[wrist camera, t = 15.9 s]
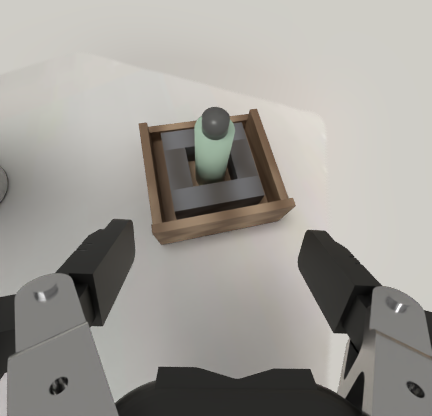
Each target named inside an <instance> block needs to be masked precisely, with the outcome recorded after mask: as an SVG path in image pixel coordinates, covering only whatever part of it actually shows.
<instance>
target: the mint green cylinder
mask: <svg viewBox="0 0 432 416" xmlns="http://www.w3.org/2000/svg"><path fill="white" fill-rule="evenodd" d="M194 131H195V177H196V181H197V183H198V184H199V185H206V184H212V183H217V182H223V181H224V176H225V172H226V168H227V164H228V159H229V155H230V151H231V147H232V143H233V138H234V134H235V127H234V124H233V122H232V121H231V120H230V116H229V114H228V113H227V112H226V111H225V110H224V109H222V108H219V107H211V108H208V109H207V110H205V111H204V113H203V114H202V116H201V117H200V118H199V119H198V120H197V121H196V123H195V127H194Z"/></svg>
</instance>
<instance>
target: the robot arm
mask: <svg viewBox="0 0 432 416" xmlns="http://www.w3.org/2000/svg"><path fill="white" fill-rule="evenodd" d="M7 185H8V182H7V176H6V173H5V172H4V170H3V169H2V168H1V167H0V202H1V201H2V199H3V197H4V195H5V193H6V190H7ZM134 257H135V242H134V230H133V222H132V220H125V219H113V220H112V221H111V222H110V223H109V224H108V226H107V227H106V228H105V229H99V230H97V231H96V232H94V233H92V234H91V235H89V236H88V237H87V238H86V239H85V240H84V241H83V243H82V244H81V245H80V246H79V247H78V248H77V250H76V251H74V253H73V254H72V255H71V256H70V257H69V258H68V259H67V260H66V261H65V263H64V264H63V265H62V266H61V267H60V268H59V269H58V270H57V271H56V273H55V274H48V275H44V276H41V277H38V278H36V279H34V280H32V281H30V282H29V283H27V284H26V285H24V286H23V287H22V288H21V289H20V290H19V291H18V292H17V294H15V295H10V296H4V297H0V379H1V378H2V376H3V375H4V373H6V372H7V416H432V312H429V311H425V310H423V308H422V307H421V306H420V304H419V303H418V302H416V301H415V300H414V299H413V298H411V297H410V296H408V295H407V294H405V293H403V292H401V291H399V290H397V289H394V288H391V287H386V286H382V285H381V284H380V283H379V282H378V281H377V280H376V279H375V278H374V277H373V276H372V275H371V274H370V273H369V271H368V270H367V269H366V268H365V267H364V266H363V265H361V264H360V262H359V261H358V260H357V259H356V258H354V256H353V255H352V254H351V253H350V251H349V250H348V249H347V248H345V247H343V246H342V245H340V244H339V243H337V242H335V241H334V240H333V239H332V237H331V236H330V235H329V234H328V233H327V232H326V231H320V230H307V231H306V233H305V235H304V239H303V242H302V246H301V249H300V253H299V256H298V267H299V270H300V272H301V274H302V276H303V278H304V280H305V281H306V283H307V285H308V287H309V289H310V291H311V292H312V294H313V296H314V298H315V300H316V302H317V304H318V305H319V307H320V309H321V311H322V313H323V315H324V316H325V318H326V320H327V322H328V324H329V326H330V327H331V329H332V331H333V333H345V334H348V336H349V340H348V342H347V345H346V350H345V356H344V361H343V366H342V371H341V377H340V382H339V387H338V391H337V393H335V392H334V391H332V390H330V389H328V388H326V387H323V386H321V385H319V384H316V383H315V381H314V378H313V375H312V373H311V370H310V369H271V370H268V371H264V372H261V373H258V374H254V375H251V376H247V377H244V378H240V379H234V378H230V377H227V376H224V375H220V374H217V373H214V372H211V371H207V370H204V369H201V368H197V367H158V373H157V378H156V381H152V382H149V383H147V384H144V385H142V386H140V387H138V388H136V389H134V390H132V391H131V392H129V393H127V394H126V395H125V396H123V397H122V398H120V399H119V400H118V401H117V402H116V403H114V400H113V397H112V394H111V391H110V388H109V385H108V382H107V379H106V376H105V373H104V370H103V367H102V364H101V361H100V358H99V355H98V352H97V349H96V345H95V342H94V339H93V336H92V333H91V330H90V327H91V326H103V325H104V323H105V321H106V319H107V317H108V314H109V312H110V310H111V308H112V306H113V304H114V302H115V300H116V298H117V295H118V293H119V291H120V289H121V287H122V285H123V283H124V281H125V279H126V276H127V274H128V272H129V270H130V268H131V266H132V264H133V261H134Z"/></svg>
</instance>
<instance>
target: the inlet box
mask: <svg viewBox="0 0 432 416" xmlns="http://www.w3.org/2000/svg"><path fill="white" fill-rule="evenodd" d="M230 120H231V121H232V122H233V124H234V127H235V134H234V138H233V143H232V147H231V151H230V155H229V159H228V164H227V168H226V172H225V176H224V181H223V182H217V183H212V184H206V185H199V184H198V183H197V181H196V177H195V131H194V127H195V123H196V121H190V122H183V123H175V124H167V125H159V126H151V127H148V125H147V123H139V129H140V137H141V144H142V151H143V158H144V165H145V172H146V180H147V187H148V194H149V201H150V208H151V216H152V223H153V225H151V226H152V233H153V235H154V236H155V238H156V239H157V240H158V241H159V243H160V244H161V245H163V244H168V243H173V242H178V241H183V240H188V239H193V238H197V237H202V236H207V235H212V234H217V233H222V232H227V231H232V230H237V229H241V228H246V227H251V226H256V225H261V224H266V223H271V222H276V221H279V220H280V219H281V218H282V217H283V216H284V215H286V214H287V213H288V212H289V211H290V210H291V209H293V208H294V207H295V206H296V205H295V202H294V200H293V198H288V195H287V193H286V190H285V187H284V184H283V181H282V179H281V176H280V173H279V170H278V167H277V164H276V162H275V159H274V156H273V153H272V150H271V148H270V145H269V142H268V139H267V136H266V133H265V131H264V128H263V125H262V122H261V119H260V116H259V114H258V111H257V109H251V110H250V111H249V114H245V115H237V116H230Z"/></svg>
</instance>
